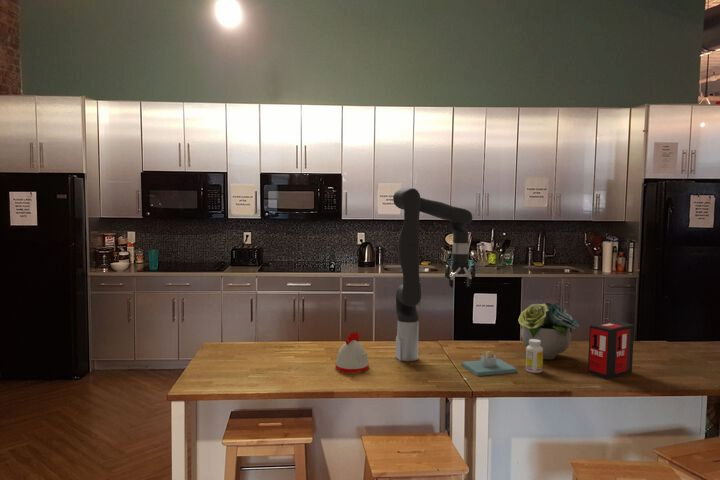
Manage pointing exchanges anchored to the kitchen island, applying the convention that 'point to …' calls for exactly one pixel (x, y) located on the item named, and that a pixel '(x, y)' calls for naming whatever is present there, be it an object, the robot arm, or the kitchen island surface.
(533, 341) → the supplement bottle
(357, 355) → the grey beanie hat
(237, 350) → the kitchen island surface
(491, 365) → the steel hub
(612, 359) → the cleaning product box
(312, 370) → the kitchen island surface
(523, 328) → the flower arrangement
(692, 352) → the kitchen island surface
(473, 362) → the post stand
